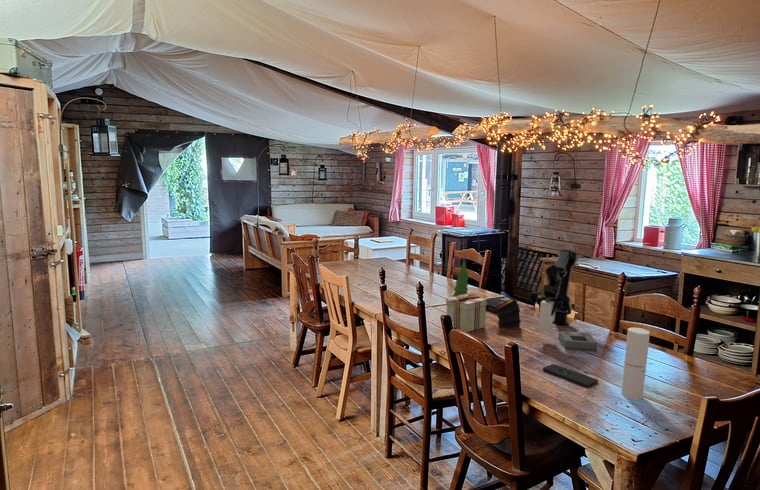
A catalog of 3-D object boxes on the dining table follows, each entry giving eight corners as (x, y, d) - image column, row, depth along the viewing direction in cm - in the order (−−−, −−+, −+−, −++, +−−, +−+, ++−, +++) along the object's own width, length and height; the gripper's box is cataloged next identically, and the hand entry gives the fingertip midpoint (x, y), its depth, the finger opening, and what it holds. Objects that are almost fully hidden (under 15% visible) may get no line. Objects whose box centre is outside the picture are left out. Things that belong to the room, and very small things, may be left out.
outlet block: (558, 338, 246) (558, 330, 246) (588, 340, 245) (588, 332, 244) (564, 349, 233) (565, 340, 232) (596, 351, 231) (597, 342, 230)
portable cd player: (518, 310, 295) (519, 304, 294) (498, 315, 285) (498, 308, 285) (497, 303, 308) (498, 297, 308) (477, 307, 299) (477, 301, 298)
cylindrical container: (617, 391, 190) (623, 327, 186) (635, 391, 190) (642, 327, 186) (628, 400, 183) (635, 334, 179) (646, 399, 183) (654, 333, 179)
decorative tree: (468, 312, 288) (471, 260, 283) (452, 311, 288) (454, 260, 283) (466, 307, 297) (469, 257, 292) (450, 307, 297) (452, 257, 293)
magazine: (525, 323, 263) (516, 299, 260) (504, 335, 261) (494, 311, 258) (522, 321, 267) (512, 297, 263) (501, 333, 265) (491, 309, 261)
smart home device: (553, 363, 212) (598, 379, 197) (553, 367, 213) (598, 383, 197) (542, 367, 207) (587, 384, 192) (541, 371, 208) (587, 389, 192)
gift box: (458, 319, 275) (459, 288, 272) (486, 327, 262) (488, 295, 259) (438, 325, 263) (439, 293, 260) (467, 334, 250) (469, 300, 247)
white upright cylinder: (541, 325, 245) (543, 296, 243) (551, 327, 243) (554, 298, 240) (538, 328, 241) (540, 299, 239) (549, 330, 239) (551, 300, 236)
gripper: (531, 275, 246) (523, 302, 239) (571, 281, 237) (564, 309, 229) (535, 288, 254) (527, 314, 247) (573, 293, 244) (566, 321, 237)
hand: (545, 314), depth 240 cm, fingers closed on white upright cylinder, 5 cm apart
